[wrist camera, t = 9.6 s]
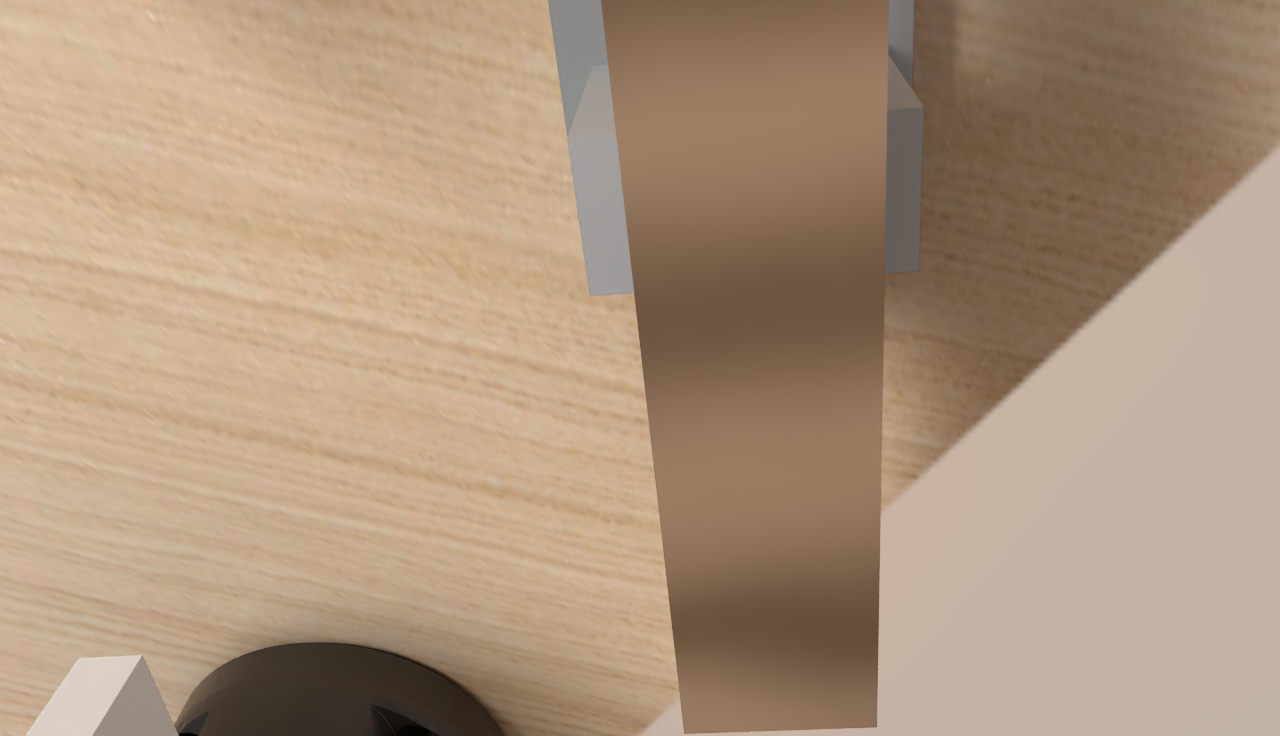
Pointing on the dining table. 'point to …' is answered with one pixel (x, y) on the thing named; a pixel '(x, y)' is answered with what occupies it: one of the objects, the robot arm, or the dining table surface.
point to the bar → (761, 341)
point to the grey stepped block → (599, 159)
